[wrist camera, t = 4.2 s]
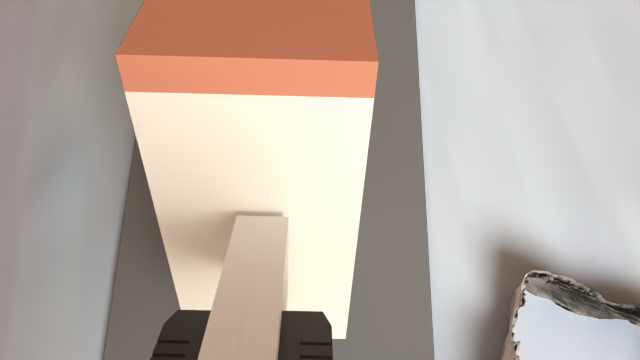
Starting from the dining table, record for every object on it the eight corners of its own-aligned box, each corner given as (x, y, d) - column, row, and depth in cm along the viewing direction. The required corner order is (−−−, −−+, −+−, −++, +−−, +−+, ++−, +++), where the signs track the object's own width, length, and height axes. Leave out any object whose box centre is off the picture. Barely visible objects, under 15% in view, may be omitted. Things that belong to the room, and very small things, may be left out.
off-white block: (187, 336, 20) (115, 54, 12) (211, 219, 25) (169, -45, 17) (345, 338, 20) (378, 61, 12) (341, 222, 25) (363, -39, 17)
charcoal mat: (103, 377, 23) (100, 377, 22) (159, -19, 30) (158, -23, 29) (434, 382, 23) (435, 382, 23) (412, -12, 30) (413, -15, 30)
